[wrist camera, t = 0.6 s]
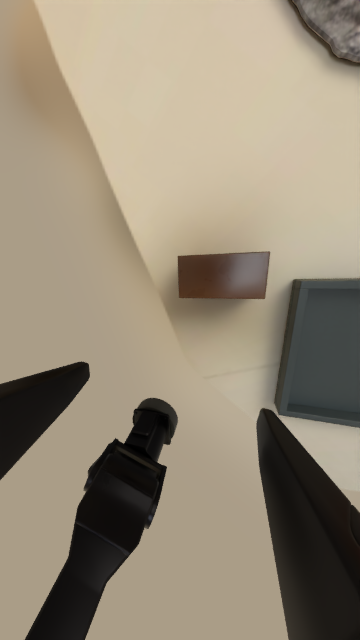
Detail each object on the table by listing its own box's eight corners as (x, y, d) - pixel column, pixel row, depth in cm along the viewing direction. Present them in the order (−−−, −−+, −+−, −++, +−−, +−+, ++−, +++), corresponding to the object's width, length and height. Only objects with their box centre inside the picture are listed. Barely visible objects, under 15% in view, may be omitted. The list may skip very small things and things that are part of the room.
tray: (390, 419, 21) (406, 435, 19) (274, 402, 24) (278, 415, 22) (448, 277, 16) (479, 278, 14) (293, 279, 19) (301, 280, 17)
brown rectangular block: (256, 291, 20) (265, 299, 16) (188, 291, 22) (179, 297, 18) (259, 254, 19) (270, 251, 14) (188, 257, 21) (177, 255, 16)
